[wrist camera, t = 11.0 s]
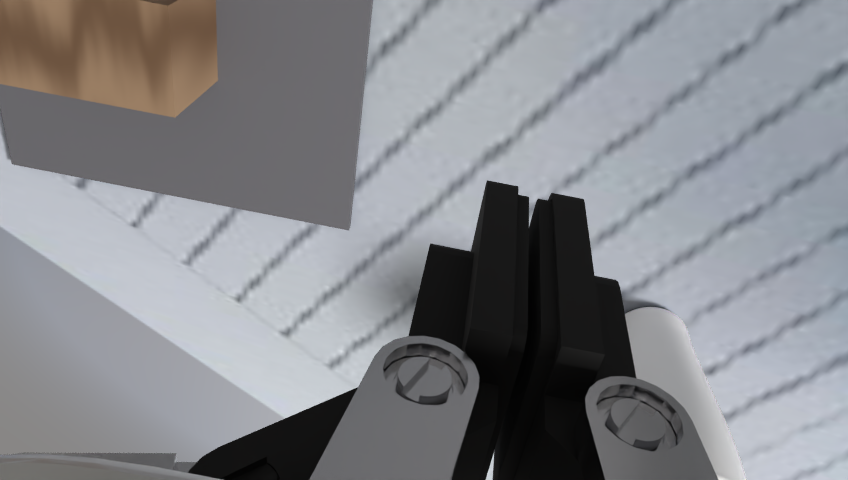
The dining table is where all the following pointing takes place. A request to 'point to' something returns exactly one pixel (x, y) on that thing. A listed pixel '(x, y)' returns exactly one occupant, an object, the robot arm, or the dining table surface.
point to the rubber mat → (228, 118)
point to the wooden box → (111, 50)
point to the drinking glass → (682, 381)
